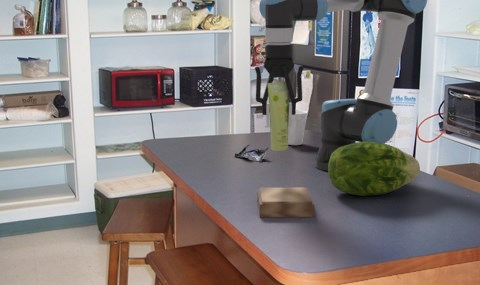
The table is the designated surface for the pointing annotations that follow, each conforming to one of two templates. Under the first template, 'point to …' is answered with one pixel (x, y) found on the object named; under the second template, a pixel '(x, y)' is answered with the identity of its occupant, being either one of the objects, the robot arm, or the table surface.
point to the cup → (297, 128)
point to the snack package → (252, 153)
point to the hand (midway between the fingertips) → (278, 126)
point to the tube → (278, 115)
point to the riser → (285, 202)
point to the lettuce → (371, 168)
